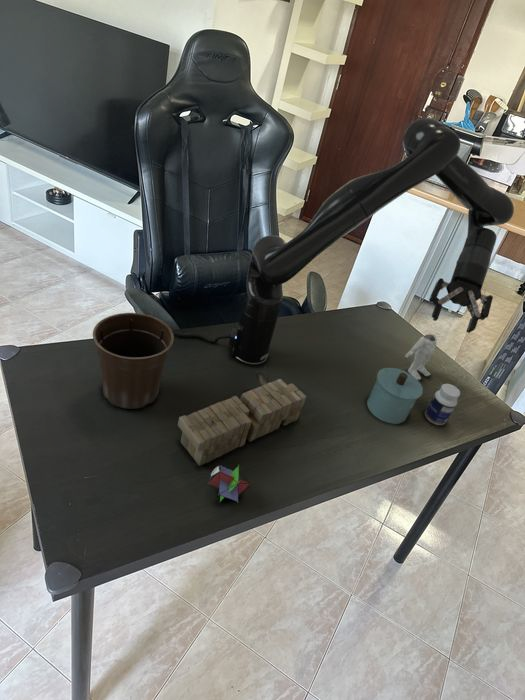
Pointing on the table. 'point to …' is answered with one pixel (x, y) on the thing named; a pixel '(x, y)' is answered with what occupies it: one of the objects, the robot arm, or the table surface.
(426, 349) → the toy creature
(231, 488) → the geometric puzzle
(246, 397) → the block tower
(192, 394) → the table surface
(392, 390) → the pot
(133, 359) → the plant pot
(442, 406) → the pill bottle
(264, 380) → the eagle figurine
